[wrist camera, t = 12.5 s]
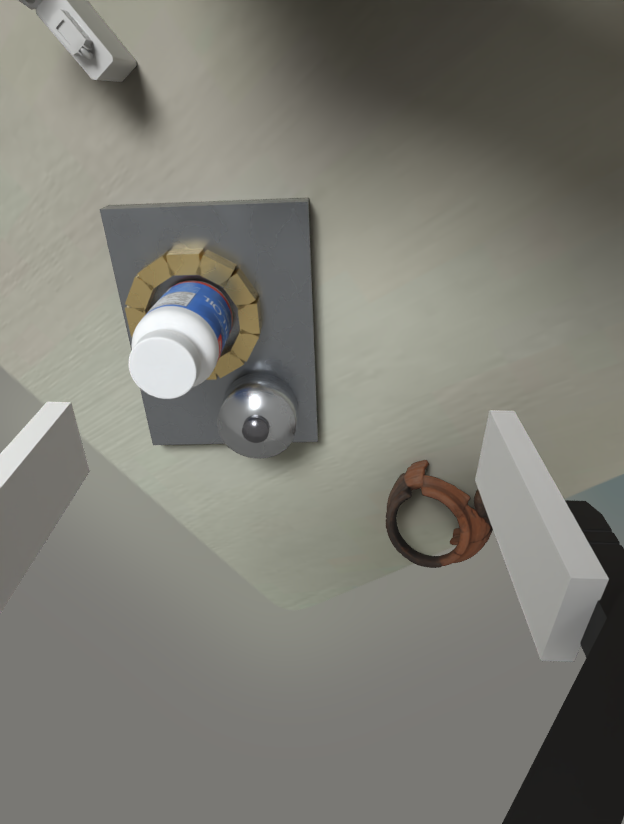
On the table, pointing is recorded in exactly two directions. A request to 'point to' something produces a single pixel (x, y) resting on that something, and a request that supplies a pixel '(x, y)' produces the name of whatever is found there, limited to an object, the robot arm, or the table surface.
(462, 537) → the pottery mug
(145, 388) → the pill bottle
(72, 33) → the lighter
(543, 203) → the table surface
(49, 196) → the table surface
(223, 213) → the carrier plate
